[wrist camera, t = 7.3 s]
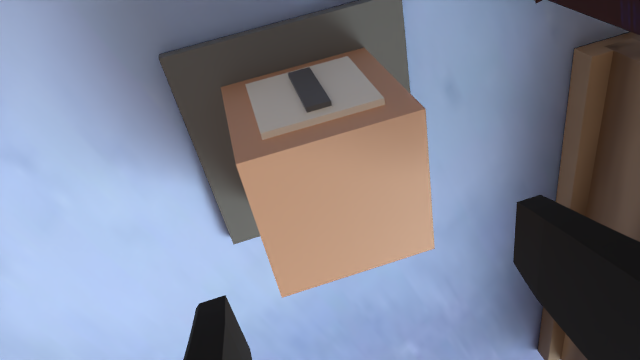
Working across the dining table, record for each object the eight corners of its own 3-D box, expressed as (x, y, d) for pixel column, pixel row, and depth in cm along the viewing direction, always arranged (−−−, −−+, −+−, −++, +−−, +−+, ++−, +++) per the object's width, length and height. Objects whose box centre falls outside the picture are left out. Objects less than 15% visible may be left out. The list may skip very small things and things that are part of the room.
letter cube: (380, 167, 19) (434, 248, 15) (259, 203, 19) (282, 297, 15) (362, 37, 16) (424, 96, 12) (217, 77, 16) (231, 152, 12)
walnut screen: (642, 28, 19) (817, 91, 14) (580, 335, 31) (664, 433, 26) (574, 48, 19) (726, 121, 14) (537, 350, 31) (612, 452, 25)
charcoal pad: (396, -11, 16) (401, -8, 16) (414, 181, 21) (418, 186, 20) (158, 54, 15) (158, 58, 15) (232, 237, 20) (233, 244, 20)
